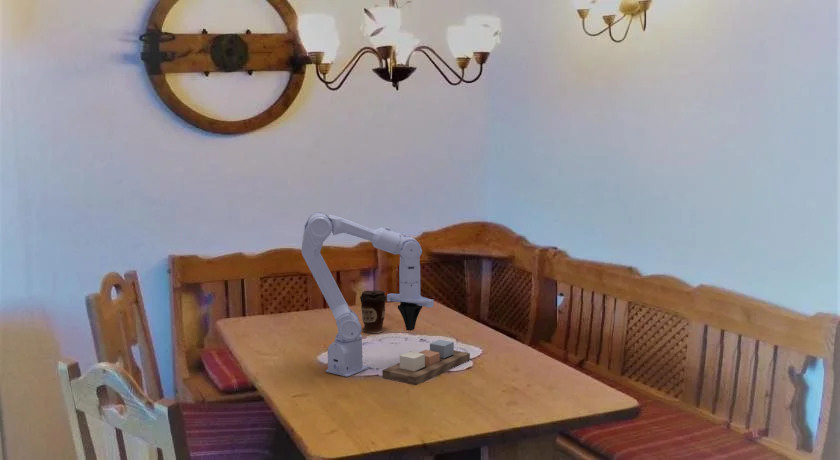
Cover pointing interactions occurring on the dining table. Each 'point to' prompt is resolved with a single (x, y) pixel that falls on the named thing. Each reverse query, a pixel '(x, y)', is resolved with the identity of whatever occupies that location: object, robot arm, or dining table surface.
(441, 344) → the button slate
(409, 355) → the cream block
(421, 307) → the robot arm
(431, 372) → the board
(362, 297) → the coffee cup
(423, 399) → the dining table surface
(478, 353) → the dining table surface
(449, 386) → the dining table surface
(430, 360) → the salmon brown square block
